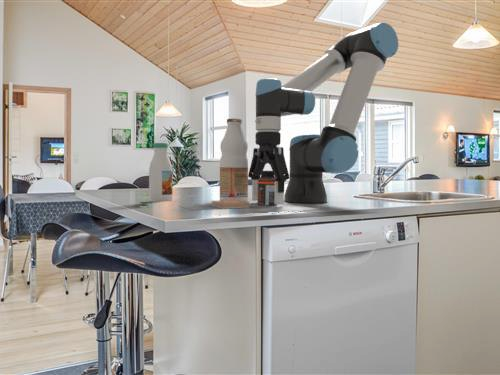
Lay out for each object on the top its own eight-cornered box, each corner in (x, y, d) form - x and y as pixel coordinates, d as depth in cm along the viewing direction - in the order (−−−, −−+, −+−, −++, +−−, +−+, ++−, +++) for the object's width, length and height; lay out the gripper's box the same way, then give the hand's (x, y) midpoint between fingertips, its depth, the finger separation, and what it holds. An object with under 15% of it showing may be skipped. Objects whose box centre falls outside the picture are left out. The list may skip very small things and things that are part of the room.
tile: (236, 199, 132) (249, 202, 125) (236, 205, 132) (249, 207, 125) (212, 200, 128) (223, 203, 121) (212, 206, 128) (223, 208, 121)
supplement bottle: (254, 207, 135) (254, 170, 135) (271, 206, 138) (272, 170, 137) (262, 209, 130) (263, 170, 129) (280, 208, 132) (281, 170, 132)
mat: (233, 206, 136) (233, 203, 136) (253, 211, 125) (253, 207, 125) (177, 209, 128) (177, 205, 128) (193, 214, 116) (193, 210, 116)
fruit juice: (216, 204, 144) (216, 117, 142) (224, 202, 153) (224, 120, 152) (244, 205, 142) (244, 117, 140) (250, 202, 151) (251, 120, 149)
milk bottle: (153, 203, 144) (153, 142, 143) (146, 202, 150) (145, 143, 149) (175, 203, 148) (175, 143, 147) (167, 201, 154) (167, 143, 153)
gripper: (238, 133, 142) (237, 199, 143) (279, 128, 120) (278, 206, 121) (258, 134, 145) (258, 198, 147) (302, 129, 123) (301, 205, 125)
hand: (267, 202), depth 134 cm, fingers open, 13 cm apart
